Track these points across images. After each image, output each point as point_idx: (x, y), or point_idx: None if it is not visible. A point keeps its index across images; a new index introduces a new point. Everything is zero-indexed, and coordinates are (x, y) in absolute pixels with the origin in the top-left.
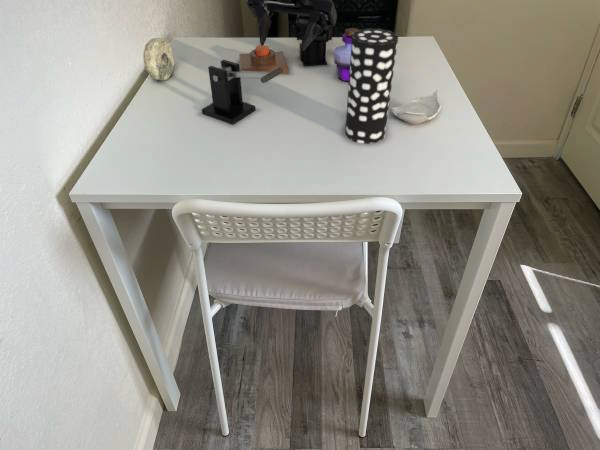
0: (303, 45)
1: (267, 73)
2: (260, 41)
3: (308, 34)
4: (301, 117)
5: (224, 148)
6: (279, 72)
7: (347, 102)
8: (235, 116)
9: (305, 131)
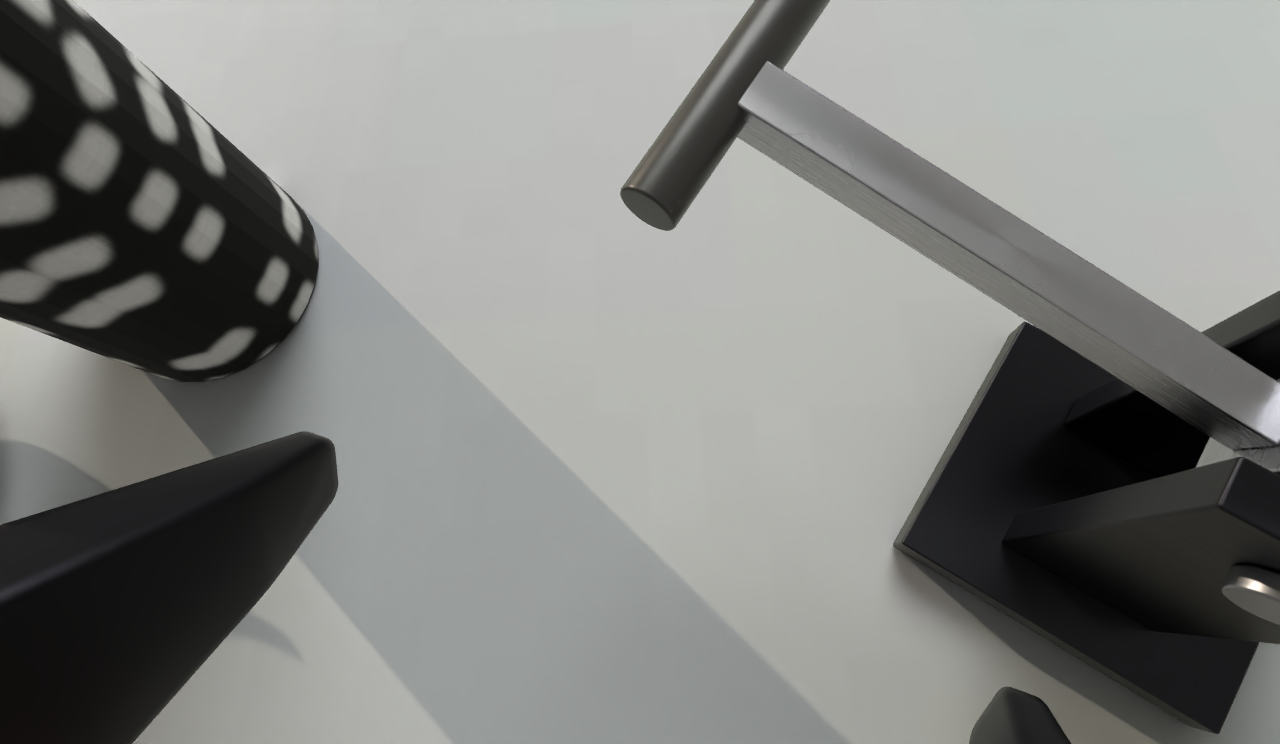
0: (268, 446)
1: (778, 70)
2: (1045, 716)
3: (51, 522)
4: (557, 451)
5: (986, 86)
6: (655, 140)
7: (185, 177)
8: (1015, 368)
9: (538, 282)
